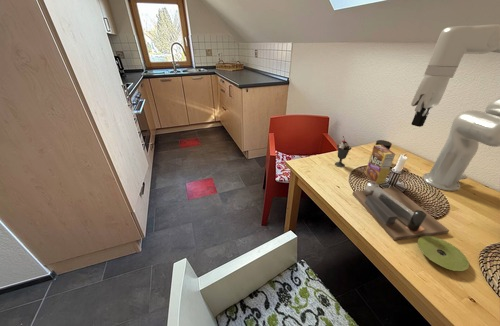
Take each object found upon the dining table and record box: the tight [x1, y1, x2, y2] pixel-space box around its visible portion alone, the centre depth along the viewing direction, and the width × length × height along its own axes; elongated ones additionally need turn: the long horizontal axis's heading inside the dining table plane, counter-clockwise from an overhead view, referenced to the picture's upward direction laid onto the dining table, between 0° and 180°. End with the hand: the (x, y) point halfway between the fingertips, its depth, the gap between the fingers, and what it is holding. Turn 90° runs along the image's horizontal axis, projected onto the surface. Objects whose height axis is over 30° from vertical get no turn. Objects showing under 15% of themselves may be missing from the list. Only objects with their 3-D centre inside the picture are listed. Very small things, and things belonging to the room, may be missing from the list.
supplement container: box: [374, 139, 392, 151], centre depth 104 cm, size 7×7×10 cm
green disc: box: [417, 236, 470, 272], centre depth 58 cm, size 11×11×2 cm
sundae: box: [334, 136, 352, 168], centre depth 99 cm, size 7×7×15 cm
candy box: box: [364, 144, 396, 185], centre depth 88 cm, size 9×4×15 cm, turn 2°
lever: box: [364, 180, 426, 231], centre depth 71 cm, size 21×4×6 cm, turn 16°
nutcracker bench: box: [352, 186, 450, 241], centre depth 73 cm, size 19×23×5 cm
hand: (416, 125), depth 75 cm, fingers closed
